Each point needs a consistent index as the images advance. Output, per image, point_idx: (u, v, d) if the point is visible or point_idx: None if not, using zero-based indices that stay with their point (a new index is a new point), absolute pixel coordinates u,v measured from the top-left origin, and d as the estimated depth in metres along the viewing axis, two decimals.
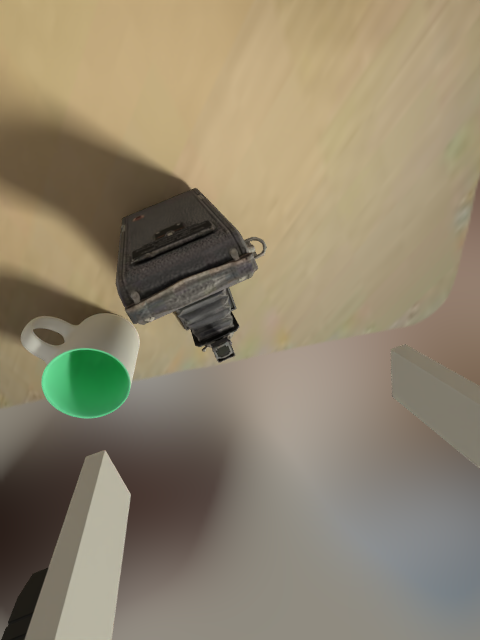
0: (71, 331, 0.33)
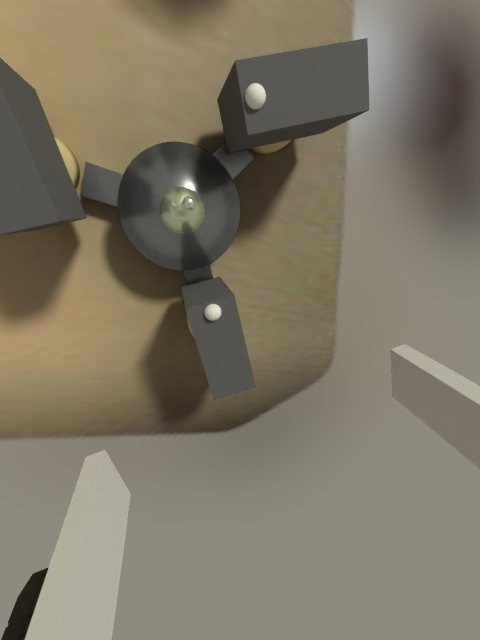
0: None
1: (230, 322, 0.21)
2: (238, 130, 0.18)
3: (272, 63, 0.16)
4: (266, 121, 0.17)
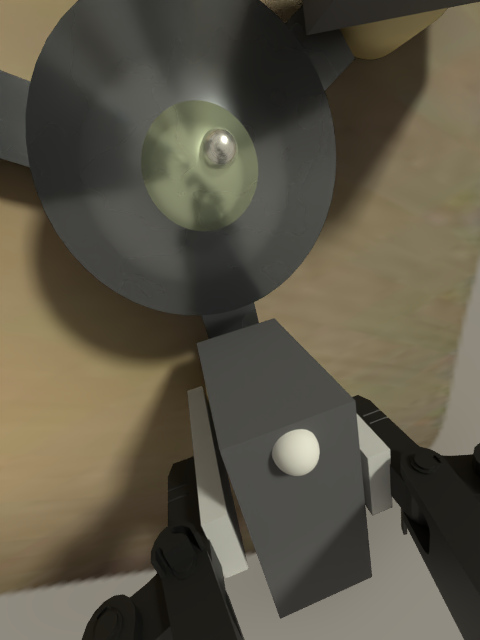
0: None
1: (336, 465, 0.08)
2: None
3: None
4: None
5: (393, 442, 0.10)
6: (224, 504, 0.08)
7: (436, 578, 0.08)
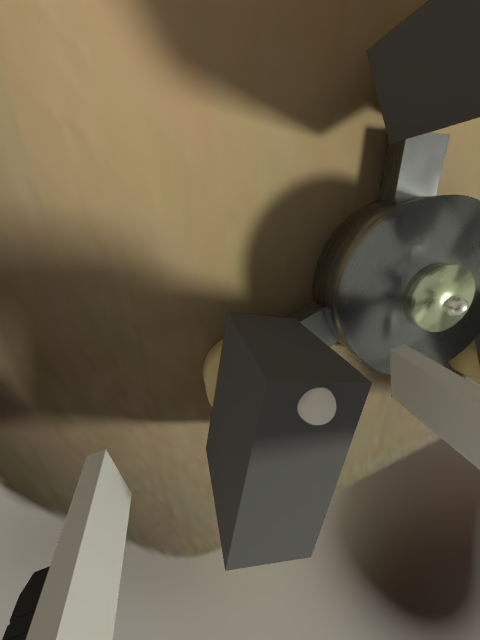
0: None
1: (335, 433, 0.09)
2: None
3: None
4: None
5: None
6: None
7: None
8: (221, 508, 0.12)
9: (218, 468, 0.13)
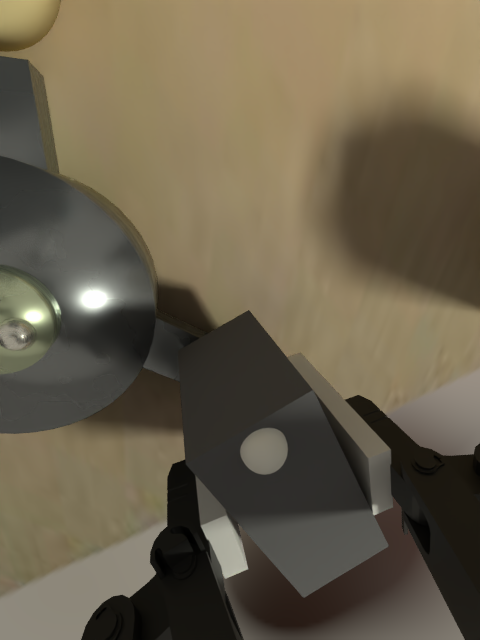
0: None
1: None
2: (200, 402, 0.09)
3: (326, 451, 0.08)
4: (227, 483, 0.07)
5: (393, 442, 0.10)
6: None
7: (436, 578, 0.08)
8: None
9: None
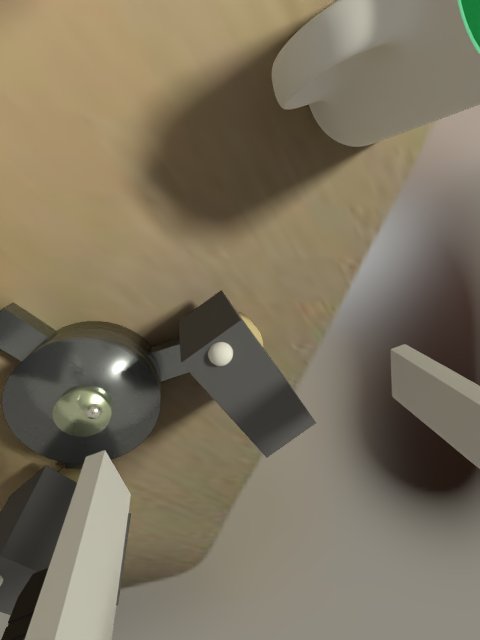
0: None
1: (23, 576, 0.16)
2: (189, 339, 0.15)
3: (257, 355, 0.14)
4: (204, 375, 0.14)
5: None
6: None
7: None
8: None
9: None
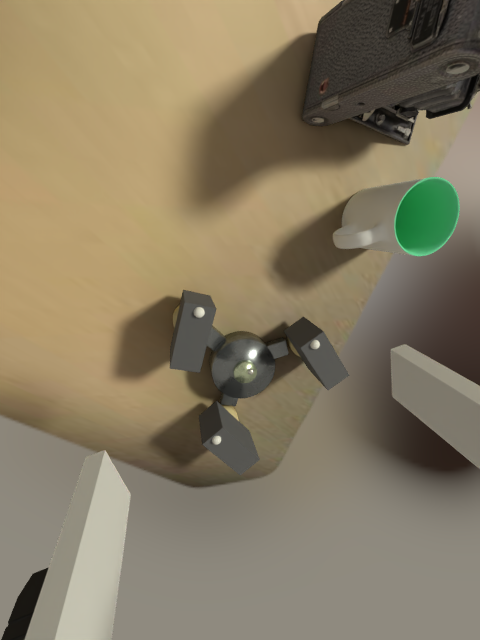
0: (355, 225, 0.37)
1: (228, 439, 0.38)
2: (298, 339, 0.38)
3: (328, 345, 0.37)
4: (308, 352, 0.36)
5: None
6: None
7: None
8: None
9: None
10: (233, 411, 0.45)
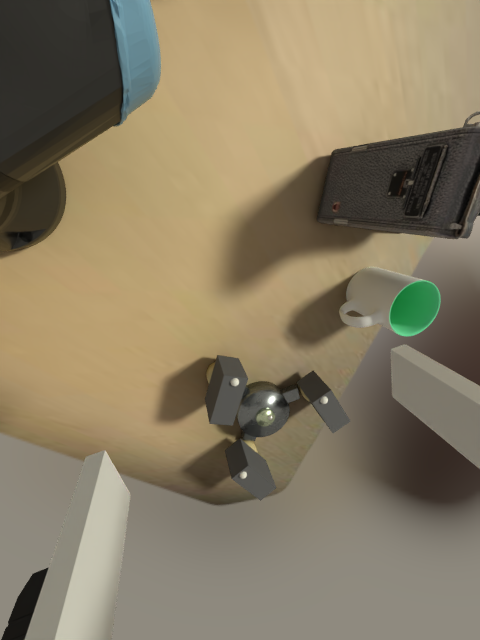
0: (357, 302, 0.45)
1: (252, 473, 0.47)
2: (310, 393, 0.46)
3: (334, 400, 0.45)
4: (318, 406, 0.45)
5: None
6: None
7: None
8: None
9: None
10: (253, 445, 0.53)
